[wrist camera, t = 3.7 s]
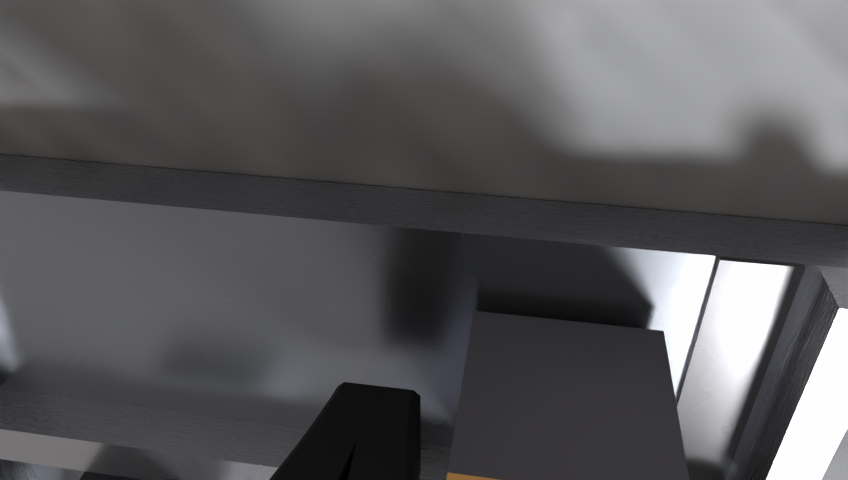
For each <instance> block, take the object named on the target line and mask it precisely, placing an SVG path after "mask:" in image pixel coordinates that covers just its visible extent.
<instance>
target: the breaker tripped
mask: <svg viewBox="0 0 848 480" xmlns="http://www.w3.org/2000/svg"><path fill="white" fill-rule="evenodd" d="M446 480H689V474H688V469H687V463H686V457H685V451H684V445H683V440H682V434H681V428H680V422H679V417H678V411H677V405H676V399H675V393H674V388H673V382H672V376H671V370H670V364H669V359H668V353H667V347H666V341H665V336H664V331H661V330H651V329H642V328H632V327H623V326H613V325H604V324H594V323H585V322H575V321H566V320H556V319H547V318H537V317H528V316H518V315H509V314H499V313H490V312H480V311H474V312H473V318H472V324H471V330H470V336H469V343H468V349H467V355H466V361H465V367H464V374H463V380H462V386H461V392H460V398H459V405H458V411H457V417H456V423H455V429H454V436H453V442H452V448H451V454H450V460H449V467H448V473H447V479H446Z"/></svg>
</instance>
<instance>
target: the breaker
mask: <svg viewBox="0 0 848 480" xmlns="http://www.w3.org/2000/svg"><path fill="white" fill-rule="evenodd" d="M79 480H142V479H135V478H128V477H121V476H114V475H107V474H100V473H93V472H86V471H85V472H84V473H83V475H82V476H81V478H80V479H79Z"/></svg>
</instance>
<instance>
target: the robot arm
mask: <svg viewBox="0 0 848 480" xmlns="http://www.w3.org/2000/svg"><path fill="white" fill-rule="evenodd" d="M420 472H421V397H420V395H419V394H417V393H416V392H415V391H414V390H409V389H400V388H392V387H383V386H375V385H366V384H358V383H350V382H343V383H342V384H340V385H339V386H338V387H337V388H336V390H335V391H334V393H333V394H332V396H331V397H330V399H329V400H328V402H327V403H326V405H325V406H324V408H323V409H322V411H321V412H320V414H319V415H318V416H317V418H316V419H315V421H314V422H313V424H312V425H311V426H310V428H309V429H308V430H307V432H306V433H305V434H304V436H303V437H302V438H301V440H300V441H299V442H298V444H297V445H296V446H295V448H294V449H293V450H292V452H291V453H290V454H289V455H288V457H287V458H286V459H285V460H284V462H283V463H282V464H281V465H280V467H279V468H278V469H277V470H276V472H275V473H274V474H273V475H272V477H271V478H270V479H269V480H420Z"/></svg>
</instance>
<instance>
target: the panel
mask: <svg viewBox="0 0 848 480" xmlns="http://www.w3.org/2000/svg"><path fill="white" fill-rule="evenodd" d="M474 311H480V312H490V313H499V314H509V315H518V316H528V317H537V318H547V319H556V320H566V321H575V322H585V323H594V324H604V325H613V326H623V327H632V328H642V329H651V330H661V331H664V336H665V341H666V347H667V353H668V359H669V364H670V370H671V376H672V382H673V388H674V393H675V399H676V405H677V411H678V417H679V422H680V428H681V434H682V440H683V445H684V451H685V457H686V463H687V469H688V474H689V480H821V479H822V477H823V475H824V473H825V471H826V469H827V467H828V465H829V463H830V461H831V459H832V457H833V455H834V453H835V451H836V449H837V447H838V445H839V443H840V441H841V439H842V437H843V434H844V432H845V430H846V428H847V426H848V226H844V225H832V224H820V223H808V222H796V221H784V220H772V219H761V218H749V217H737V216H725V215H713V214H701V213H689V212H677V211H665V210H653V209H642V208H630V207H618V206H606V205H594V204H582V203H570V202H558V201H546V200H534V199H523V198H511V197H499V196H487V195H475V194H463V193H451V192H439V191H427V190H415V189H404V188H392V187H380V186H368V185H356V184H344V183H332V182H320V181H308V180H296V179H285V178H273V177H261V176H249V175H237V174H225V173H213V172H201V171H189V170H177V169H166V168H154V167H142V166H130V165H118V164H106V163H94V162H82V161H70V160H59V159H47V158H35V157H23V156H11V155H0V480H79V479H80V478H81V476H82V475H83V473H84V472H85V471H86V472H93V473H100V474H107V475H114V476H121V477H128V478H135V479H142V480H269V479H270V478H271V477H272V475H273V474H274V473H275V472H276V470H277V469H278V468H279V467H280V465H281V464H282V463H283V462H284V460H285V459H286V458H287V457H288V455H289V454H290V453H291V452H292V450H293V449H294V448H295V446H296V445H297V444H298V442H299V441H300V440H301V438H302V437H303V436H304V434H305V433H306V432H307V430H308V429H309V428H310V426H311V425H312V424H313V422H314V421H315V419H316V418H317V416H318V415H319V414H320V412H321V411H322V409H323V408H324V406H325V405H326V403H327V402H328V400H329V399H330V397H331V396H332V394H333V393H334V391H335V390H336V388H337V387H338V386H339V385H340V384H342V383H343V382H350V383H358V384H366V385H375V386H383V387H392V388H400V389H409V390H414V391H415V392H416V393H417V394H419V395H420V397H421V472H420V480H446V479H447V473H448V467H449V460H450V454H451V448H452V442H453V436H454V429H455V423H456V417H457V411H458V405H459V398H460V392H461V386H462V380H463V374H464V367H465V361H466V355H467V349H468V343H469V336H470V330H471V324H472V318H473V312H474Z"/></svg>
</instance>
